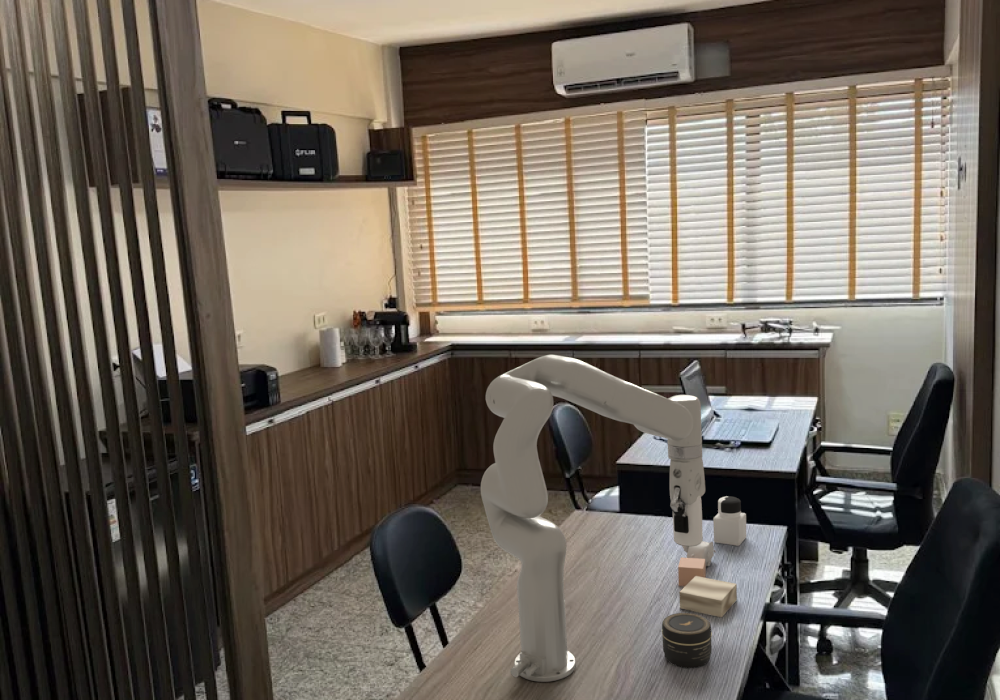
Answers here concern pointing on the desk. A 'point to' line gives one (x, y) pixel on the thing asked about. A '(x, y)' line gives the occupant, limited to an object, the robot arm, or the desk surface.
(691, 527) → the can
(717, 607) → the birch block
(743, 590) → the desk surface
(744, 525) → the medicine bottle
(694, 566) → the terracotta block
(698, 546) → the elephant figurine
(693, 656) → the jar
